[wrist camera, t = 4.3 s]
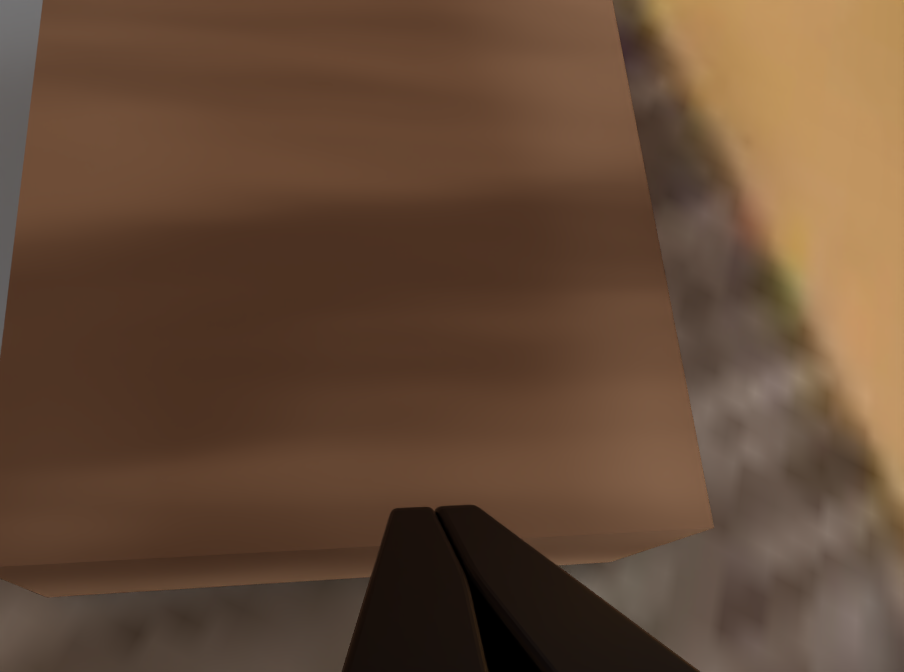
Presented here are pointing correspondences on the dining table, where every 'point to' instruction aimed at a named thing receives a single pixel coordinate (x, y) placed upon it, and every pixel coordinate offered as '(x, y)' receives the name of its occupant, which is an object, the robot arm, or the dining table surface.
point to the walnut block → (332, 293)
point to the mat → (14, 119)
